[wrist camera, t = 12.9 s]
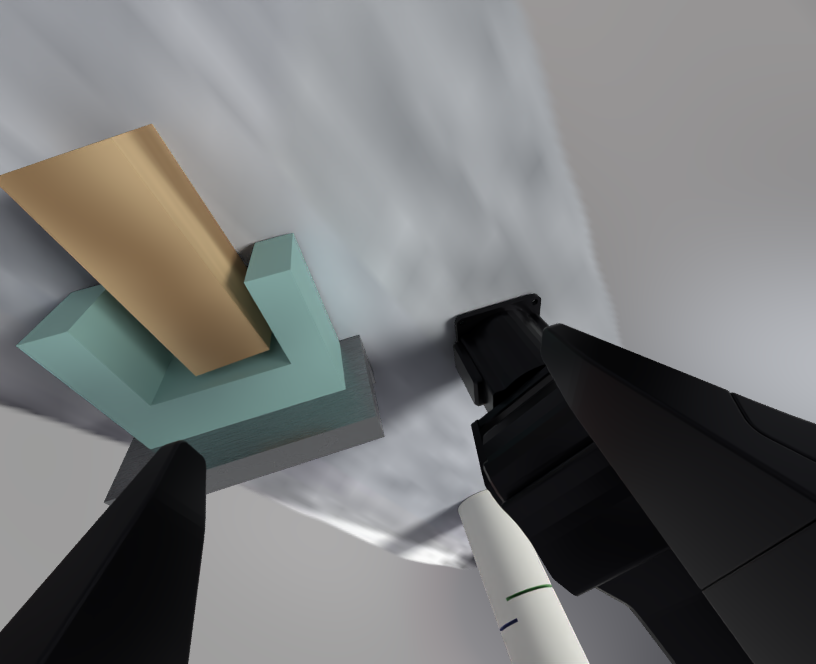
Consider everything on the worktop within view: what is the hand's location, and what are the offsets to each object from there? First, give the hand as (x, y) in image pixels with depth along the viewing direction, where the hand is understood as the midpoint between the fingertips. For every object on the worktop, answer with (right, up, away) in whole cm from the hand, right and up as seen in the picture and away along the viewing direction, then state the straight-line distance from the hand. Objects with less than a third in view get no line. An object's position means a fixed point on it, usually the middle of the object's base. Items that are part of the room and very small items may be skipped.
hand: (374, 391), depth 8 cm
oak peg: (-10, +6, +9) cm, 15 cm away
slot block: (-10, +2, +11) cm, 15 cm away
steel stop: (-9, -2, +15) cm, 17 cm away
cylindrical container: (+11, -22, +37) cm, 44 cm away
